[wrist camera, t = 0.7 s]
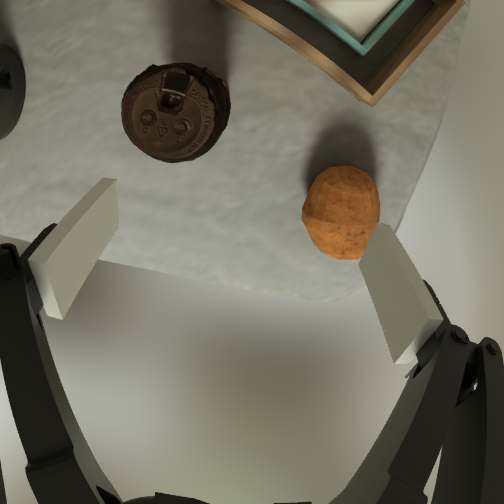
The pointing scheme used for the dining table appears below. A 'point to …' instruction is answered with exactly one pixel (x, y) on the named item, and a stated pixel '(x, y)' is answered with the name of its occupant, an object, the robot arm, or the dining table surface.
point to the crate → (358, 35)
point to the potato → (342, 211)
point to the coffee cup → (175, 111)
